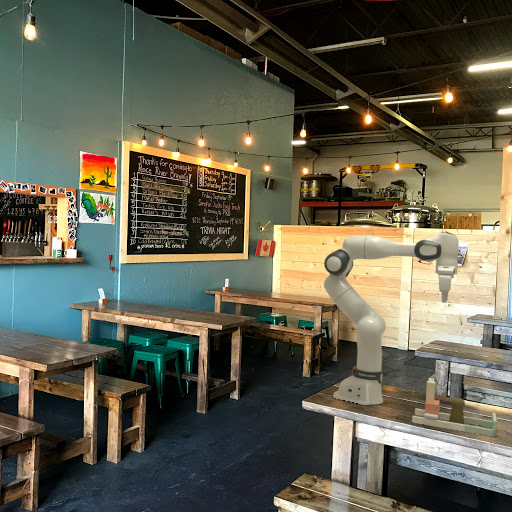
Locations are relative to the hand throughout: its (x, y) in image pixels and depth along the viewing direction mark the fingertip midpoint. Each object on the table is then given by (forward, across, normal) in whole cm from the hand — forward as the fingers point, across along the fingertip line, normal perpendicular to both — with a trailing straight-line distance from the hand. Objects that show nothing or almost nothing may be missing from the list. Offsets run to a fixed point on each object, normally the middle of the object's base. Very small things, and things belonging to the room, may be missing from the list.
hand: (444, 301), depth 217 cm
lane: (+48, +15, +6) cm, 51 cm away
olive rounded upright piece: (+48, +15, +8) cm, 51 cm away
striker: (+48, +15, -2) cm, 50 cm away
